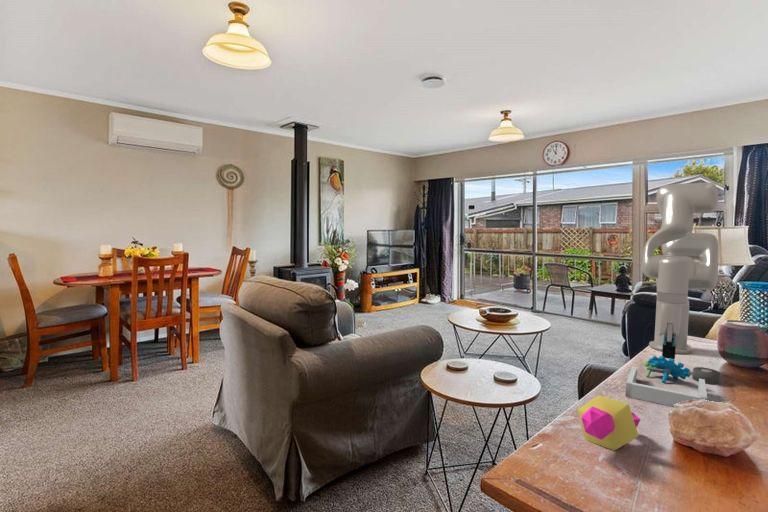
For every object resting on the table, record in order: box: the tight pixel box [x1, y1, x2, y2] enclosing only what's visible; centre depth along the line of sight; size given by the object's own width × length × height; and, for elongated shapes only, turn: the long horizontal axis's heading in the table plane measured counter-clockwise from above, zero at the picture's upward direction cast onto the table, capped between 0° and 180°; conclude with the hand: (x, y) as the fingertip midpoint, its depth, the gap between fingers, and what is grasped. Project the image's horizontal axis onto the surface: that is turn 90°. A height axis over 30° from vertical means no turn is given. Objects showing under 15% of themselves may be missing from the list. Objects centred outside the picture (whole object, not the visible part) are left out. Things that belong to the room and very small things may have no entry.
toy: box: [577, 395, 641, 451], centre depth 82 cm, size 10×18×10 cm, turn 132°
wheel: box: [692, 366, 721, 386], centre depth 115 cm, size 6×6×3 cm
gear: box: [644, 355, 691, 384], centre depth 115 cm, size 11×6×10 cm
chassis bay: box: [625, 366, 708, 407], centre depth 105 cm, size 15×16×4 cm
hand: (668, 357), depth 123 cm, fingers closed
